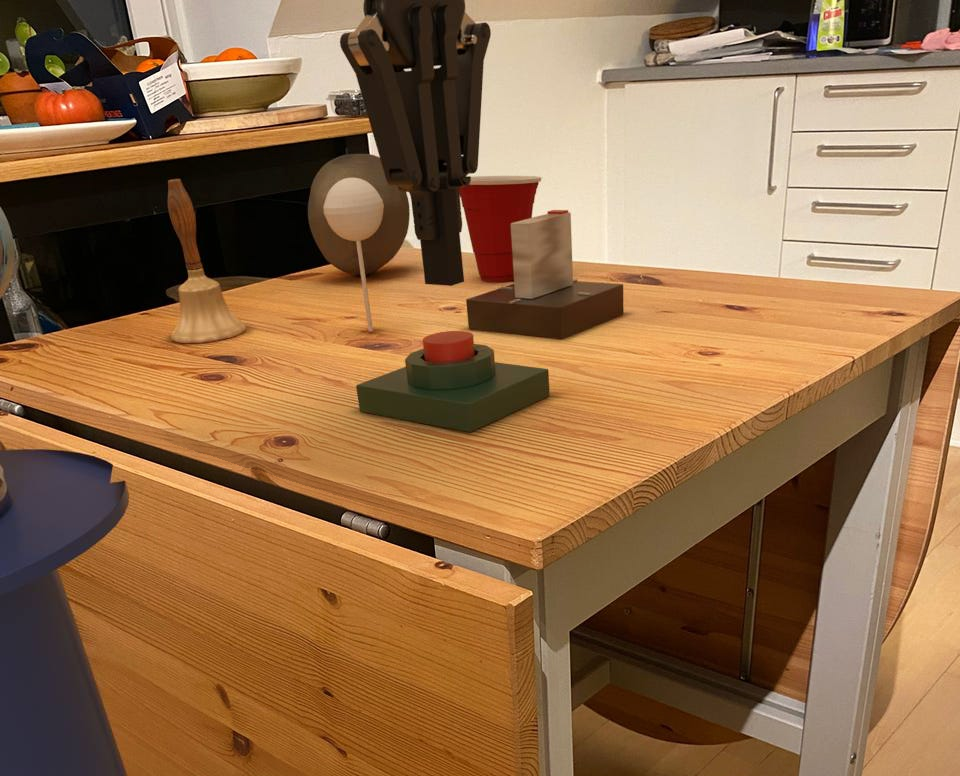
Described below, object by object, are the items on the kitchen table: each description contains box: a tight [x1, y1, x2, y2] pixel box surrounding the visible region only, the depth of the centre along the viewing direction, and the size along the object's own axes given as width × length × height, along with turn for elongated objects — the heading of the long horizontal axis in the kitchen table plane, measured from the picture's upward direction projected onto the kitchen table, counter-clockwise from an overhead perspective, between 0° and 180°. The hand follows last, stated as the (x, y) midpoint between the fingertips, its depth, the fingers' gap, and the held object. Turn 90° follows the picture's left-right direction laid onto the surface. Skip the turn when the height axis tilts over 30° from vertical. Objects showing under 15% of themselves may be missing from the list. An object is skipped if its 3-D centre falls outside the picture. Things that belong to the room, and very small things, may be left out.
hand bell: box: [167, 178, 247, 344], centre depth 107 cm, size 8×8×16 cm
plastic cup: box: [459, 175, 543, 283], centre depth 122 cm, size 11×11×12 cm
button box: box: [355, 343, 551, 433], centre depth 79 cm, size 12×10×4 cm
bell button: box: [422, 330, 475, 363], centre depth 78 cm, size 4×4×2 cm
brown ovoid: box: [307, 153, 411, 276], centre depth 131 cm, size 14×14×15 cm
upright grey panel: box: [511, 209, 574, 299], centre depth 99 cm, size 7×2×7 cm, turn 140°
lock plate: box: [465, 278, 625, 340], centre depth 101 cm, size 12×11×3 cm
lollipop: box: [324, 178, 384, 333], centre depth 101 cm, size 6×6×15 cm
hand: (444, 282), depth 75 cm, fingers closed
